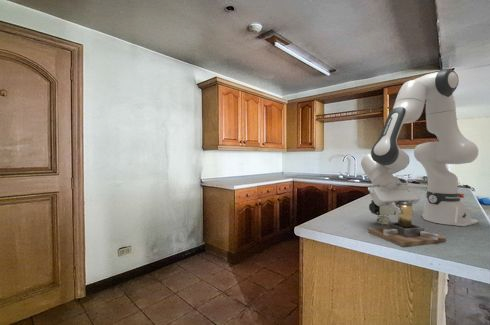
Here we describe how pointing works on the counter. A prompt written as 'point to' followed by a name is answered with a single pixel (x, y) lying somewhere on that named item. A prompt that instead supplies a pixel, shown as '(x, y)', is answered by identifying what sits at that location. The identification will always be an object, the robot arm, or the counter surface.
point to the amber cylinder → (405, 213)
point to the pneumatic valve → (381, 212)
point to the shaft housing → (406, 235)
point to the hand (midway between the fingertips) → (406, 212)
